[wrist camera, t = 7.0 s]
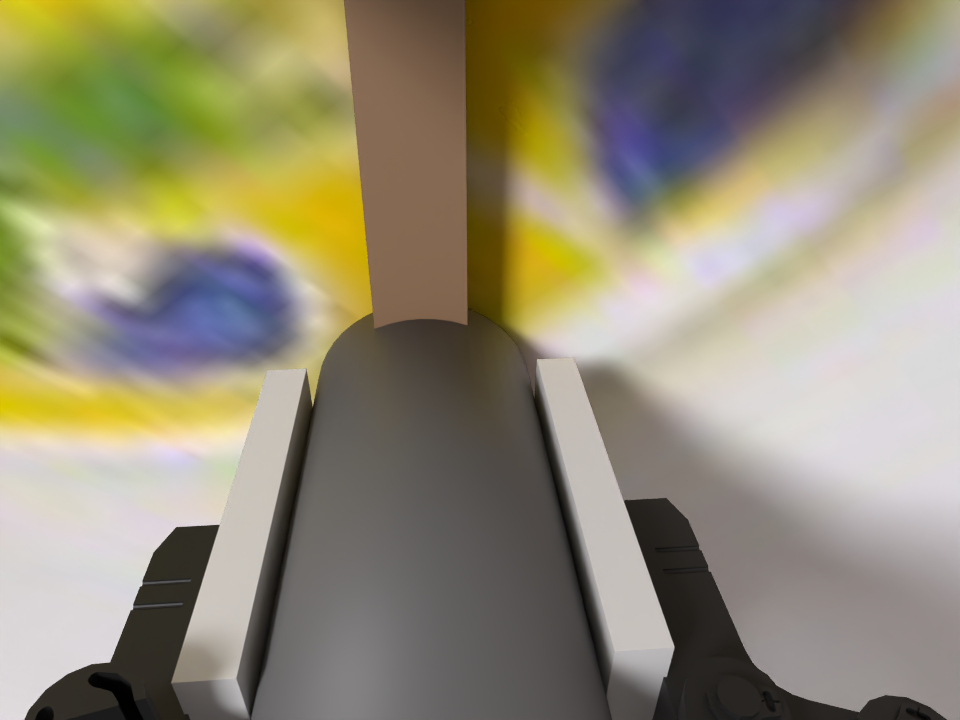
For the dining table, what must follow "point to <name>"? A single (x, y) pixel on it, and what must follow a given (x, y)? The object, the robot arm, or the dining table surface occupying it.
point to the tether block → (424, 449)
